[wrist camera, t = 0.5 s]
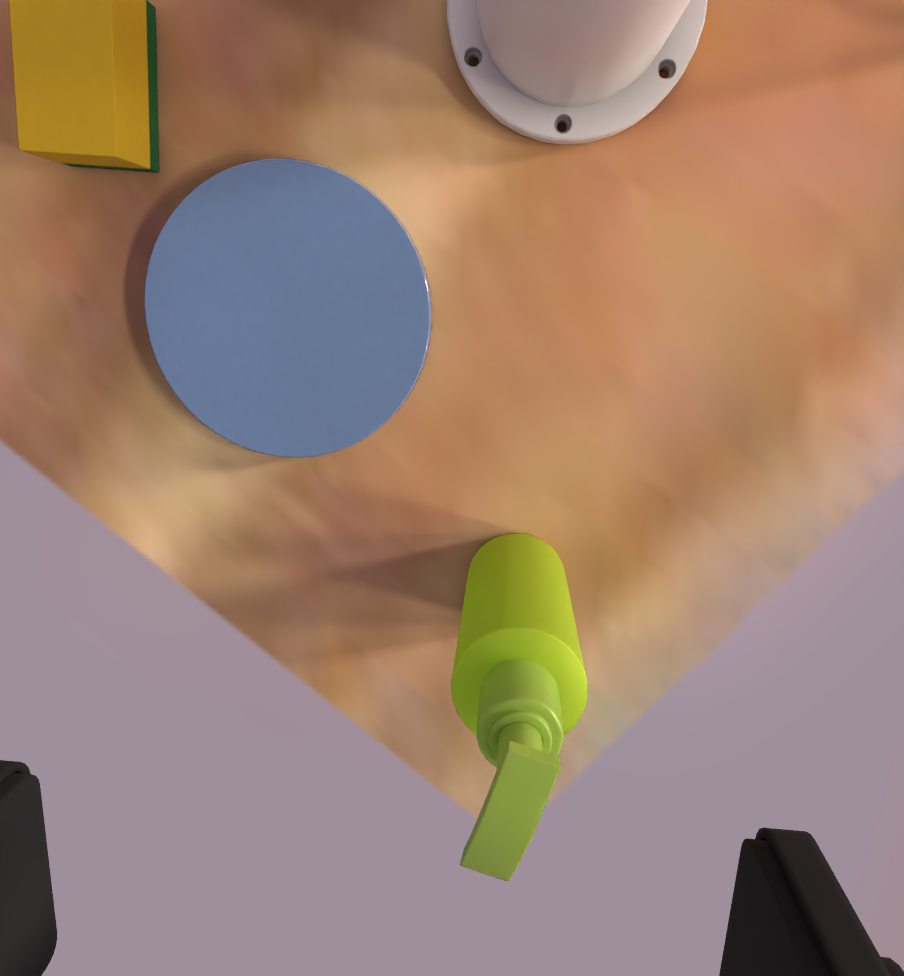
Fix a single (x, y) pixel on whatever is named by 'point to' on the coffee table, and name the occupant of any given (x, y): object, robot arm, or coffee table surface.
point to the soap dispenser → (516, 689)
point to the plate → (288, 307)
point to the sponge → (86, 82)
